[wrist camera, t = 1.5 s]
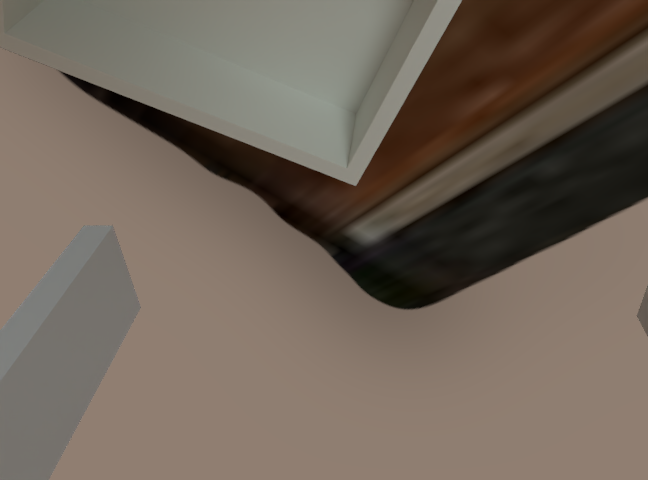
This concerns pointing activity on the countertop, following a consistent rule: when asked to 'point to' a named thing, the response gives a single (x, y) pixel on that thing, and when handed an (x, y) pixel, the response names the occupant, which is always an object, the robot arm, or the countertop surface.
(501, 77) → the countertop surface
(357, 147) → the crate
